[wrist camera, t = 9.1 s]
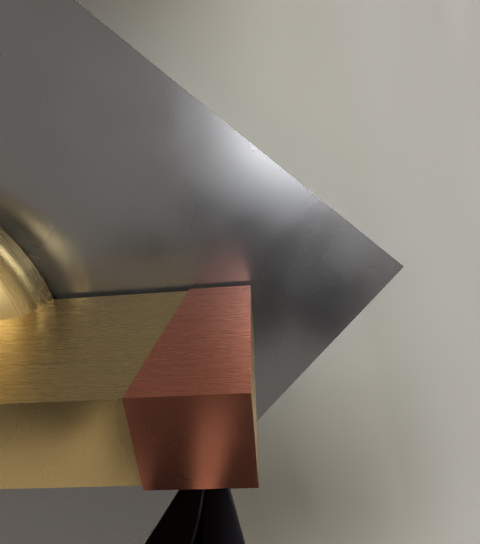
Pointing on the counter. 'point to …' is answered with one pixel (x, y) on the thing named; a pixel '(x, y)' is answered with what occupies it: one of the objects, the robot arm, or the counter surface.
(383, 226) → the counter surface
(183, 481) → the brass lever handle
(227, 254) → the base plate
